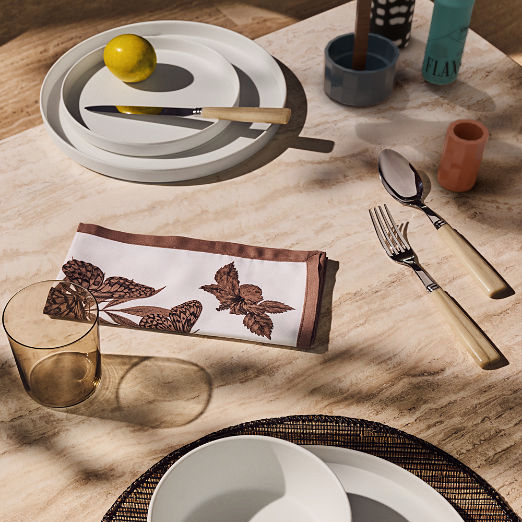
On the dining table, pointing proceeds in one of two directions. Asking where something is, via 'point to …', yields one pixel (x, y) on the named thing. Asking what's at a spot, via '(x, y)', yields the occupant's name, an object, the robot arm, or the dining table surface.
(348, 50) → the bowl
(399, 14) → the glass
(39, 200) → the dining table surface
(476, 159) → the crock
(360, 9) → the stirring stick
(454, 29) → the beverage bottle
